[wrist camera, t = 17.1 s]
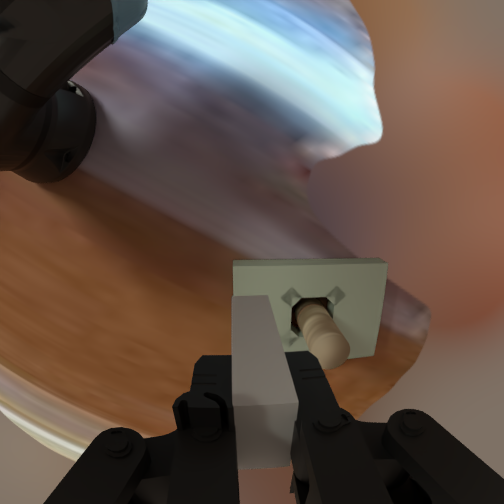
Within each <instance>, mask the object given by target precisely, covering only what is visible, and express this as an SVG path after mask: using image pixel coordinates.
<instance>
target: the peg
mask: <svg viewBox="0 0 504 504" xmlns="http://www.w3.org/2000/svg"><path fill="white" fill-rule="evenodd" d="M295 318H296V320H297V324H298V326H299V328H300V329H301V332H302V334H303V336H304V339H305V341H306V343H307V346H308V348H309V351H310V353H312V354H313V355H314V356H315V357H317V358H318V360H319V363H320V365H321V367H322V369H333V368H336V367H339V366H340V365H342V364H343V363H344V362H345V361H346V360H347V358H348V356H349V354H350V345H349V343H348V341H347V340H346V338H345V337H344V335H343V334H342V333H341V331H340V330H339V328H338V327H337V325H336V324H335V322H334V321H333V319H332V318H331V316H330V315H329V313H328V311H327V309H326V308H325V307H324V306H323V305H322V303H321V302H320V301H319V300H317V299H314V298H304V299H302V300H300V301H299V302H298V304H297V306H296V309H295Z"/></svg>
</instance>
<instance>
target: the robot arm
mask: <svg viewBox="0 0 504 504" xmlns="http://www.w3.org/2000/svg"><path fill="white" fill-rule="evenodd" d="M147 2H148V0H0V171H12V172H14V173H16V174H18V175H19V176H21V177H23V178H25V179H26V180H28V181H31V182H35V183H52V182H56V181H59V180H61V179H63V178H65V177H67V176H68V175H69V174H71V173H72V172H73V171H74V170H75V169H76V168H77V167H78V166H79V165H80V163H81V162H82V161H83V159H84V157H85V156H86V154H87V152H88V150H89V148H90V145H91V143H92V140H93V136H94V132H95V125H96V113H95V107H94V103H93V100H92V98H91V96H90V95H89V93H88V92H87V91H86V90H85V89H84V88H83V87H82V86H80V85H78V84H76V83H75V82H73V81H70V80H69V79H71V78H72V77H73V76H74V75H75V74H76V73H77V72H78V71H79V70H80V69H81V68H83V67H84V66H85V65H86V64H87V63H88V62H90V61H91V60H92V59H93V58H94V57H95V56H97V55H98V54H99V53H100V52H102V51H103V50H104V49H105V48H107V47H108V46H109V45H110V44H112V45H113V44H114V43H115V42H116V41H117V40H118V38H119V37H120V36H121V35H122V34H124V33H125V32H126V31H127V30H129V29H130V28H131V27H133V26H134V25H135V24H137V23H138V22H139V21H140V20H141V19H142V18H143V17H144V15H145V13H146V10H147V4H148V3H147ZM172 408H173V412H174V417H175V421H176V425H177V429H176V430H175V431H173V432H171V433H169V434H166V435H162V436H157V437H151V438H143V437H142V436H141V435H140V434H139V433H138V432H136V431H134V430H132V429H129V428H123V427H118V428H110V429H108V430H105V431H103V432H101V433H100V434H99V435H98V436H97V437H96V438H95V439H94V440H93V441H92V443H91V444H90V445H89V446H88V448H87V449H86V450H85V451H84V453H83V454H82V455H81V456H80V458H79V459H78V460H77V462H76V463H75V464H74V465H73V467H72V468H71V469H70V470H69V472H68V473H67V474H66V476H65V477H64V478H63V479H62V481H61V482H60V483H59V484H58V486H57V487H56V489H55V490H54V491H53V492H52V493H51V495H50V496H49V497H48V498H47V500H46V501H45V502H44V503H43V504H240V500H239V482H238V469H261V468H275V467H286V466H290V461H291V460H292V464H293V469H294V471H293V476H292V481H291V487H290V493H295V498H296V503H297V504H504V479H503V478H502V477H501V476H500V475H499V474H497V473H496V472H495V471H494V470H493V469H491V468H490V467H489V466H488V465H487V464H485V463H484V462H483V461H482V460H481V459H480V458H478V457H477V456H476V455H475V454H474V453H472V452H471V451H470V450H469V449H468V448H467V447H466V446H464V445H463V444H462V443H461V442H460V441H458V440H457V439H456V438H455V437H454V436H452V435H451V434H450V433H449V432H448V431H447V430H446V429H444V428H443V427H442V426H441V425H440V424H439V423H437V422H436V421H435V420H434V419H433V418H432V417H431V416H429V415H428V414H426V413H424V412H423V411H419V410H415V409H404V410H400V411H397V412H395V413H394V414H393V415H391V416H390V418H389V420H388V422H387V423H373V422H372V423H371V422H361V421H358V420H355V419H354V418H353V416H352V415H351V414H350V413H349V412H347V411H346V410H344V409H342V408H340V407H339V405H338V403H337V401H336V399H335V396H334V394H333V392H332V389H331V387H330V385H329V383H328V380H327V378H325V374H324V371H323V370H322V367H321V365H320V363H319V360H318V358H317V357H315V356H314V355H313V354H312V353H310V352H309V351H308V350H307V351H293V352H284V349H283V346H282V342H281V339H280V335H279V332H278V328H277V325H276V321H275V318H274V315H273V311H272V308H271V304H270V301H269V297H268V295H254V296H232V355H202V356H201V358H200V359H199V360H198V361H197V362H196V363H195V365H194V371H193V377H192V385H191V388H190V391H189V392H186V393H183V394H182V395H181V396H180V397H178V398H177V399H176V400H175V402H174V404H173V406H172Z"/></svg>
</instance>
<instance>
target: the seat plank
mask: <svg viewBox="0 0 504 504" xmlns="http://www.w3.org/2000/svg"><path fill="white" fill-rule="evenodd" d="M387 270H388V263H387V262H385V261H383V260H382V259H380V258H339V259H273V260H233V296H254V295H268V297H269V301H270V304H271V308H272V311H273V315H274V318H275V321H276V325H277V328H278V332H279V335H280V339H281V342H282V346H283V349H284V352H293V351H307V350H308V351H309V348H308V346H307V343H306V341H305V339H304V336H303V334H302V332H301V329H300V328H299V327H295V326H293V325H292V324H291V312H292V307H293V306H294V305H295V304H296V303H297V302H298V301H299V300H300V299H301V298H312V297H327V298H328V303H327V311H328V313H329V315H330V316H331V318H332V319H333V321H334V322H335V324H336V325H337V327H338V328H339V330H340V331H341V333H342V334H343V335H344V337H345V338H346V340H347V341H348V343H349V345H350V354H349V356H348V358H347V359H351V358H360V357H367V356H374V352H375V347H376V342H377V336H378V331H379V325H380V320H381V314H382V307H383V301H384V294H385V286H386V278H387ZM309 352H310V351H309Z"/></svg>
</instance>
